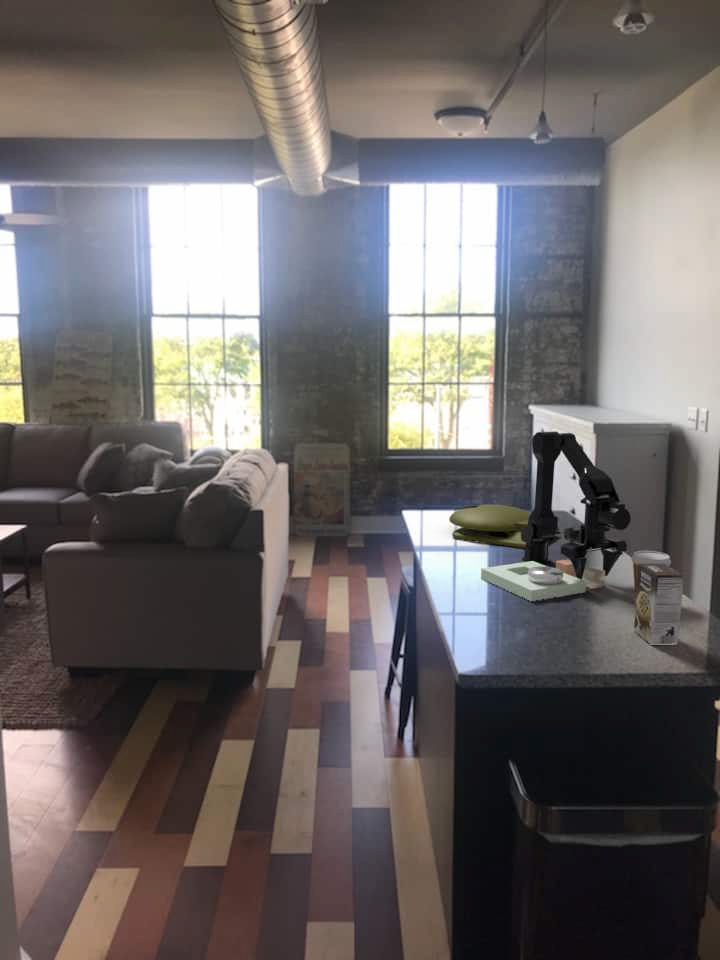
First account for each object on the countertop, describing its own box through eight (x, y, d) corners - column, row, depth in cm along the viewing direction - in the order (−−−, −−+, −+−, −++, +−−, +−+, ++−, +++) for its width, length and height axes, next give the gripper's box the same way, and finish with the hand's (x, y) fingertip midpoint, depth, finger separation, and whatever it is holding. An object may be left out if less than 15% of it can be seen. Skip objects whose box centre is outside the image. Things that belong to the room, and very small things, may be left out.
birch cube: (592, 582, 210) (593, 566, 210) (604, 586, 206) (605, 570, 206) (579, 584, 208) (580, 568, 208) (591, 589, 204) (592, 572, 204)
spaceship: (561, 532, 270) (562, 505, 268) (531, 551, 244) (533, 521, 242) (470, 520, 288) (471, 495, 286) (434, 537, 262) (434, 509, 260)
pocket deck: (532, 570, 221) (532, 560, 220) (585, 592, 201) (586, 581, 201) (481, 578, 213) (481, 568, 212) (531, 601, 193) (531, 590, 193)
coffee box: (632, 631, 173) (636, 562, 170) (659, 630, 174) (664, 562, 171) (650, 646, 164) (655, 574, 161) (679, 645, 165) (684, 574, 162)
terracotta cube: (567, 574, 218) (568, 559, 217) (578, 578, 214) (579, 563, 213) (555, 576, 216) (555, 561, 215) (566, 580, 212) (566, 565, 211)
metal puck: (547, 573, 207) (548, 565, 207) (569, 582, 199) (570, 573, 199) (520, 577, 204) (521, 568, 203) (542, 587, 196) (542, 577, 195)
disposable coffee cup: (667, 596, 198) (670, 552, 196) (669, 608, 189) (672, 561, 187) (628, 592, 201) (631, 548, 199) (628, 604, 192) (631, 558, 190)
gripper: (600, 513, 216) (597, 566, 218) (548, 519, 207) (545, 574, 210) (629, 521, 206) (626, 576, 208) (576, 528, 198) (573, 585, 200)
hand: (592, 578), depth 207 cm, fingers open, 9 cm apart
